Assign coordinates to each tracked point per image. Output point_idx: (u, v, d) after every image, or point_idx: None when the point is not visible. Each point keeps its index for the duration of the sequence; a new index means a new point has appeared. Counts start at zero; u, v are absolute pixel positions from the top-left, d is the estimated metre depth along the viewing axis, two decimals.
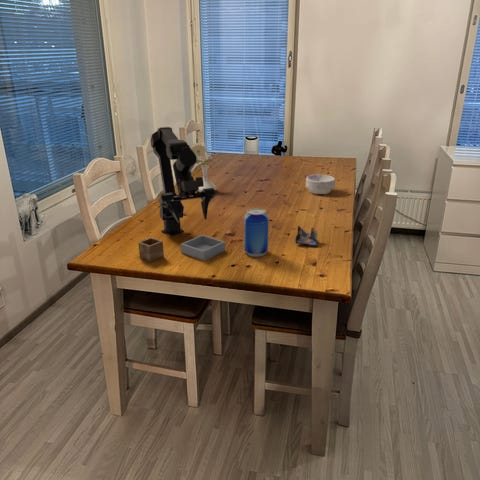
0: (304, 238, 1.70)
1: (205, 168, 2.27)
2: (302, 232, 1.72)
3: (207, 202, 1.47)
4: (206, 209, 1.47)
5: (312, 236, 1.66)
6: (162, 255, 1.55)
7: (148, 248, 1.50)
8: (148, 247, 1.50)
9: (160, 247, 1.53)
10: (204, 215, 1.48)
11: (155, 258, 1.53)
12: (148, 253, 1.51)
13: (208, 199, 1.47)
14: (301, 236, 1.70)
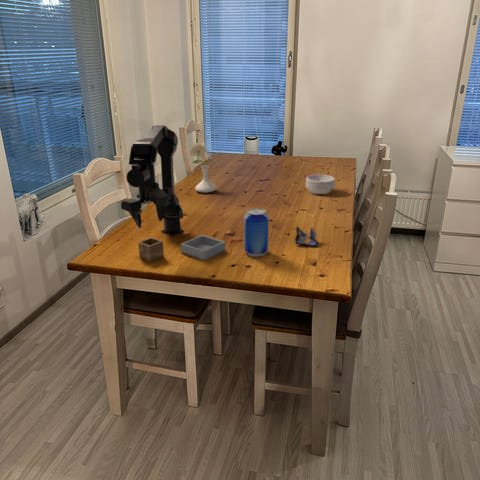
0: (303, 238, 1.70)
1: (205, 168, 2.27)
2: (301, 232, 1.72)
3: (165, 206, 1.52)
4: (163, 212, 1.52)
5: (311, 236, 1.66)
6: (162, 255, 1.55)
7: (148, 248, 1.50)
8: (148, 247, 1.50)
9: (160, 247, 1.53)
10: (160, 217, 1.53)
11: (155, 258, 1.53)
12: (148, 253, 1.51)
13: (167, 204, 1.51)
14: (300, 236, 1.70)
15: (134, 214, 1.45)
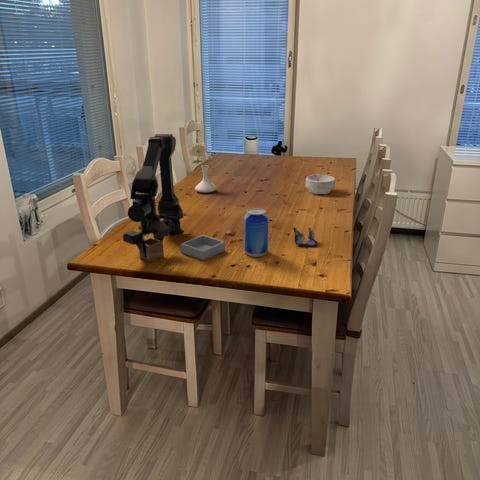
0: (301, 239, 1.70)
1: (205, 168, 2.27)
2: (297, 233, 1.71)
3: (163, 237, 1.55)
4: None
5: (310, 236, 1.66)
6: (162, 255, 1.55)
7: (148, 248, 1.50)
8: (148, 247, 1.50)
9: (160, 247, 1.53)
10: None
11: (155, 258, 1.53)
12: (148, 253, 1.51)
13: None
14: (297, 237, 1.70)
15: (139, 244, 1.50)
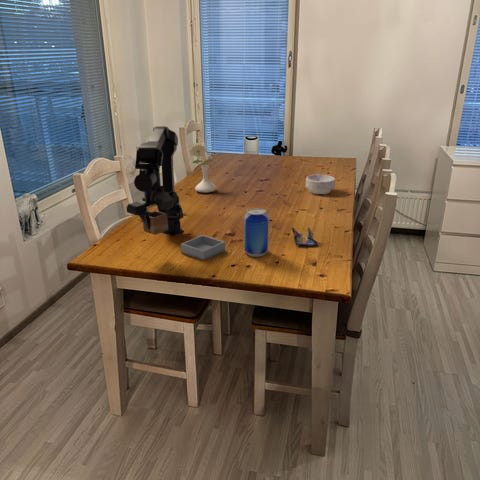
0: (299, 239, 1.70)
1: (205, 168, 2.27)
2: (296, 233, 1.71)
3: (167, 210, 1.52)
4: None
5: (309, 236, 1.66)
6: (166, 228, 1.52)
7: (152, 220, 1.46)
8: (152, 219, 1.46)
9: (164, 220, 1.50)
10: None
11: (159, 231, 1.49)
12: (152, 225, 1.47)
13: (169, 207, 1.51)
14: (296, 237, 1.69)
15: (143, 216, 1.47)
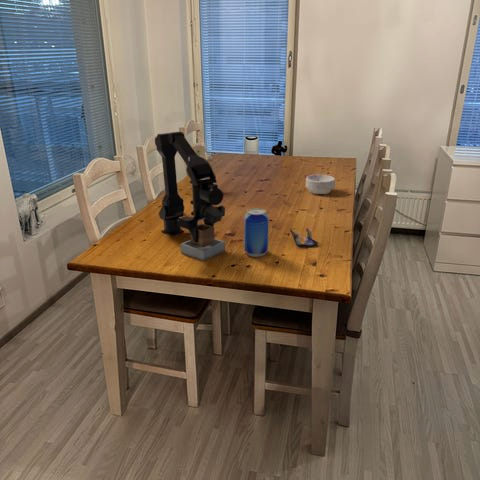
0: (298, 239, 1.69)
1: None
2: (293, 234, 1.70)
3: None
4: None
5: (308, 236, 1.66)
6: (213, 241, 1.58)
7: (201, 233, 1.53)
8: (201, 232, 1.53)
9: (212, 233, 1.56)
10: None
11: (207, 243, 1.56)
12: (201, 238, 1.54)
13: None
14: None
15: (192, 229, 1.53)
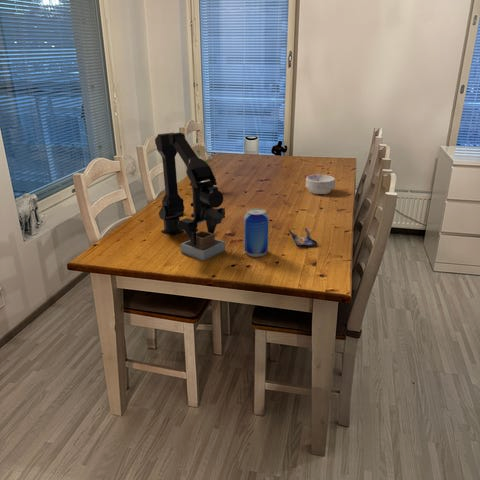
0: (296, 239, 1.69)
1: None
2: (292, 234, 1.70)
3: None
4: (214, 230, 1.60)
5: (308, 236, 1.66)
6: None
7: (201, 241, 1.54)
8: (201, 240, 1.54)
9: (212, 240, 1.57)
10: None
11: None
12: (201, 245, 1.55)
13: None
14: (293, 238, 1.68)
15: (190, 233, 1.53)
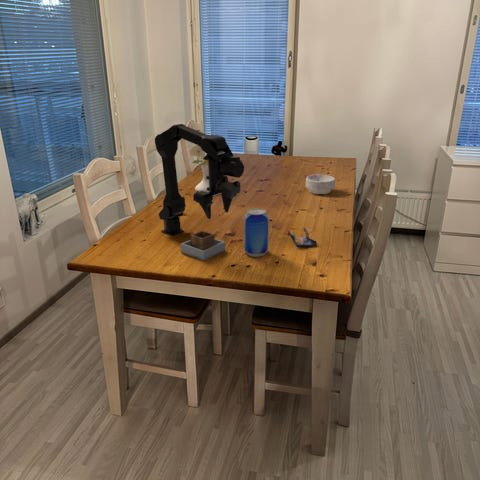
0: (295, 240, 1.69)
1: (205, 168, 2.27)
2: (290, 234, 1.70)
3: (232, 198, 1.60)
4: (229, 204, 1.61)
5: None
6: None
7: (201, 241, 1.54)
8: (201, 240, 1.54)
9: (212, 240, 1.57)
10: (226, 209, 1.61)
11: None
12: (201, 245, 1.55)
13: (234, 196, 1.59)
14: None
15: (205, 206, 1.53)
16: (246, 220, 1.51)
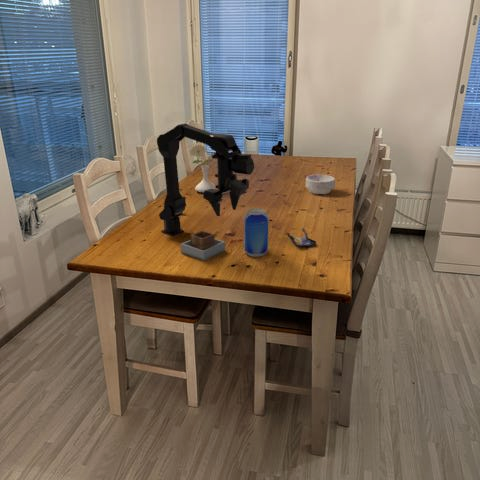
0: (294, 240, 1.68)
1: (205, 168, 2.27)
2: (288, 235, 1.69)
3: (239, 196, 1.63)
4: (237, 201, 1.63)
5: (306, 236, 1.66)
6: None
7: (201, 241, 1.54)
8: (201, 240, 1.54)
9: (212, 240, 1.57)
10: (234, 206, 1.64)
11: None
12: (201, 245, 1.55)
13: (241, 194, 1.62)
14: (291, 239, 1.67)
15: (214, 203, 1.56)
16: (246, 220, 1.51)
